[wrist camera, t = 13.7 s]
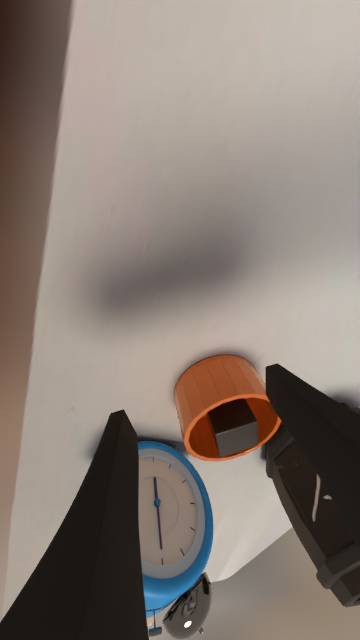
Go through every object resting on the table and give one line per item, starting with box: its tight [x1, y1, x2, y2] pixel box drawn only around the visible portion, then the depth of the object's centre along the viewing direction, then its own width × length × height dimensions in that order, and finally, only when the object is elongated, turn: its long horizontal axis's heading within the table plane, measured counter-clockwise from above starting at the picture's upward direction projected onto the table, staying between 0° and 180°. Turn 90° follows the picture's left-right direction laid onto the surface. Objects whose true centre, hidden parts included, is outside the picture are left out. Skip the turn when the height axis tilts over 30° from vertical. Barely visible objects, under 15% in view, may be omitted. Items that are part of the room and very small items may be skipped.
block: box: [206, 398, 258, 457], centre depth 23 cm, size 4×4×6 cm
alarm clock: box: [138, 441, 213, 640], centre depth 23 cm, size 13×6×15 cm, turn 62°
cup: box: [174, 355, 281, 461], centre depth 24 cm, size 10×10×6 cm
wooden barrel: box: [265, 403, 360, 607], centre depth 29 cm, size 18×18×16 cm
